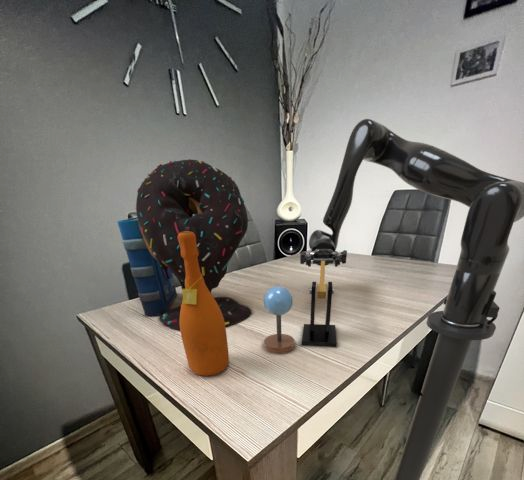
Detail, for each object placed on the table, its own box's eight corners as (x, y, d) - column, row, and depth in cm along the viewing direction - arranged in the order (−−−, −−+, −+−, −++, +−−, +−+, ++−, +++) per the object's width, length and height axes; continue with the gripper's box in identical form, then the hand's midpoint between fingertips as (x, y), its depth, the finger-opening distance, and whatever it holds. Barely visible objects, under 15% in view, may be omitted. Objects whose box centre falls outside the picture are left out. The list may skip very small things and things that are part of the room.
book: (168, 315, 95) (144, 219, 80) (142, 317, 94) (113, 221, 79) (180, 294, 116) (163, 214, 101) (159, 295, 115) (138, 216, 100)
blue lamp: (297, 340, 74) (298, 282, 66) (289, 355, 68) (289, 293, 60) (270, 337, 77) (267, 281, 69) (259, 351, 71) (255, 291, 62)
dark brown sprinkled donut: (264, 320, 87) (256, 146, 65) (159, 339, 79) (107, 149, 57) (241, 293, 112) (229, 160, 90) (159, 305, 104) (123, 163, 82)
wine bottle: (183, 364, 67) (151, 232, 52) (218, 351, 71) (199, 226, 56) (199, 383, 60) (168, 237, 45) (237, 367, 64) (221, 230, 49)
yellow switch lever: (313, 263, 78) (313, 255, 76) (332, 262, 77) (333, 255, 75) (310, 298, 70) (310, 291, 68) (332, 298, 69) (333, 291, 67)
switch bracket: (304, 327, 81) (305, 278, 74) (335, 328, 80) (339, 278, 72) (301, 345, 72) (302, 291, 65) (336, 347, 70) (341, 291, 63)
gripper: (300, 239, 87) (296, 249, 73) (347, 238, 85) (352, 247, 71) (300, 263, 91) (296, 276, 77) (345, 262, 88) (349, 276, 74)
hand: (322, 262), depth 74 cm, fingers open, 6 cm apart
